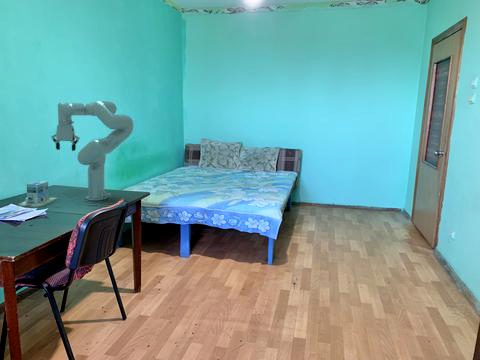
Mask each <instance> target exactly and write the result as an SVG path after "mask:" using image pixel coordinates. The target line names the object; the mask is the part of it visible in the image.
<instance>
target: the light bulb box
mask: <svg viewBox="0 0 480 360" xmlns="http://www.w3.org/2000/svg"><path fill="white" fill-rule="evenodd" d="M26 198H28V200H29V202H32V203H35V199H34V198H37V202H38V203H39V202H42V201H45V200H48V199H49V198H50V197H49V181H45V180H36V181H32V182H28V183H26Z"/></svg>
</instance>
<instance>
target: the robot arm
mask: <svg viewBox="0 0 480 360" xmlns="http://www.w3.org/2000/svg"><path fill="white" fill-rule="evenodd" d="M117 110H118V109H117V105H116V104H115V103H114V102H112V101H107V100H97V101H90V102H89V103H82V102H81V103H79V102H58V104H57V119H58V120H57V121H58V124H57V126H56V133H55V134H53V135H51V136H50V137H51V139H52V141H53V142H54V144H55V149H56V150H58V151H59V150H60V149H61V144H60V142H70V143H71V151H72V152H73V151H76V149H77V148H76V147H77V146H76V145H77V143H78V142H79V141H80V137H79V136H77V135H76V134H75V133H76V132H75V128H74V125H73V124H74V123H75V122H74V121H73V120H72V116H92V117H97V118H98V119H99V120H100V122H101V123H102V124H103V125H104V126H105V127H106V128H108V129H109V130H112V131H111V132H109V134H108V135H107V136H105V137H102V138H95V139H92V140H90V141H89V142H88V143H87V144H85V146H83V147H82V148H81V149H80V150H79V152H78V153H77V160H78V163H79V164H80V165H82V166H88V169H87V192H88V193H87V195H86V196H85V200H87V201H93V202H94V201H95V202H96V201H104V200H106V199H108V198H109V197H111V196H112V193H110V192H107V190H105V164H106V158H107V155H109V154H111V153H112V152H114V150H115V149H117V148H118V147H119V146H120V145H121V144H122V143H123V142H124V141H126V140H127V139H128V138H129V137H130V136H131V134H132V133H133V129H134V121H133V119H132V117H130V116H129V115H126V114H116V113H117Z"/></svg>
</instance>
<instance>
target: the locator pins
mask: <svg viewBox="0 0 480 360" xmlns="http://www.w3.org/2000/svg"><path fill="white" fill-rule="evenodd" d="M34 199H35V205H37V204H38V202H37V198H34ZM25 201H26V204H29V200H28V198H27V197H25Z"/></svg>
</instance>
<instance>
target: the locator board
mask: <svg viewBox="0 0 480 360" xmlns="http://www.w3.org/2000/svg"><path fill="white" fill-rule="evenodd" d="M58 200H59V197H49V199H48V200H45V201H42V202H39V203H38V204H37V205H35V203H32V202H29V204H26V200H24V201H22V202H19V203H17V207H29V208H45V207H46V206H48V205H50V204H52V203H55V202H57V201H58Z"/></svg>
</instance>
